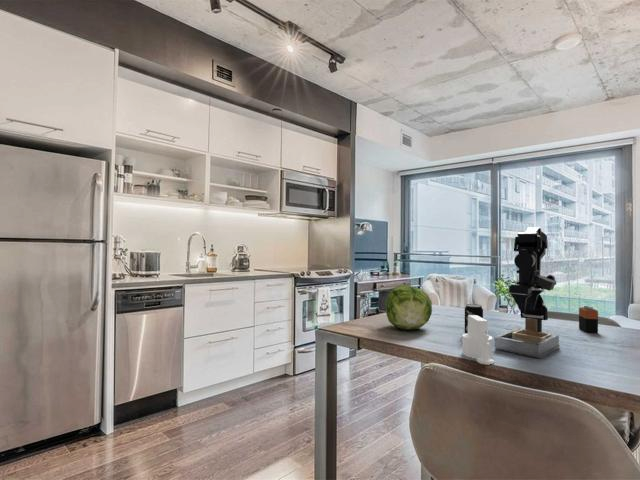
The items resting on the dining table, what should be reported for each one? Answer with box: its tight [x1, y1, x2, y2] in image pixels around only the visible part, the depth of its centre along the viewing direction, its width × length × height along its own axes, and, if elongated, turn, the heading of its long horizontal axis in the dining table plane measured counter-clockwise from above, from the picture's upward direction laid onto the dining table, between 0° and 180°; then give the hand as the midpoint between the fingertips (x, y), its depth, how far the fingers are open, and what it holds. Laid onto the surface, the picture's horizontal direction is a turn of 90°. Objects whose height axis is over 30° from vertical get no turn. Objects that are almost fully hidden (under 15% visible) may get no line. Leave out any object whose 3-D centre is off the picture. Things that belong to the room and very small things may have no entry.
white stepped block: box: [461, 315, 493, 359], centre depth 121 cm, size 9×9×12 cm
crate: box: [512, 318, 553, 344], centre depth 131 cm, size 8×10×8 cm
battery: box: [578, 305, 599, 334], centre depth 153 cm, size 4×7×10 cm, turn 168°
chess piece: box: [476, 328, 495, 366], centre depth 114 cm, size 5×5×10 cm
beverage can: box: [464, 303, 484, 334], centre depth 145 cm, size 7×7×12 cm
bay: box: [493, 327, 560, 359], centre depth 128 cm, size 19×14×4 cm
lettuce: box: [384, 284, 433, 331], centre depth 156 cm, size 19×23×18 cm
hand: (527, 311), depth 134 cm, fingers open, 9 cm apart
